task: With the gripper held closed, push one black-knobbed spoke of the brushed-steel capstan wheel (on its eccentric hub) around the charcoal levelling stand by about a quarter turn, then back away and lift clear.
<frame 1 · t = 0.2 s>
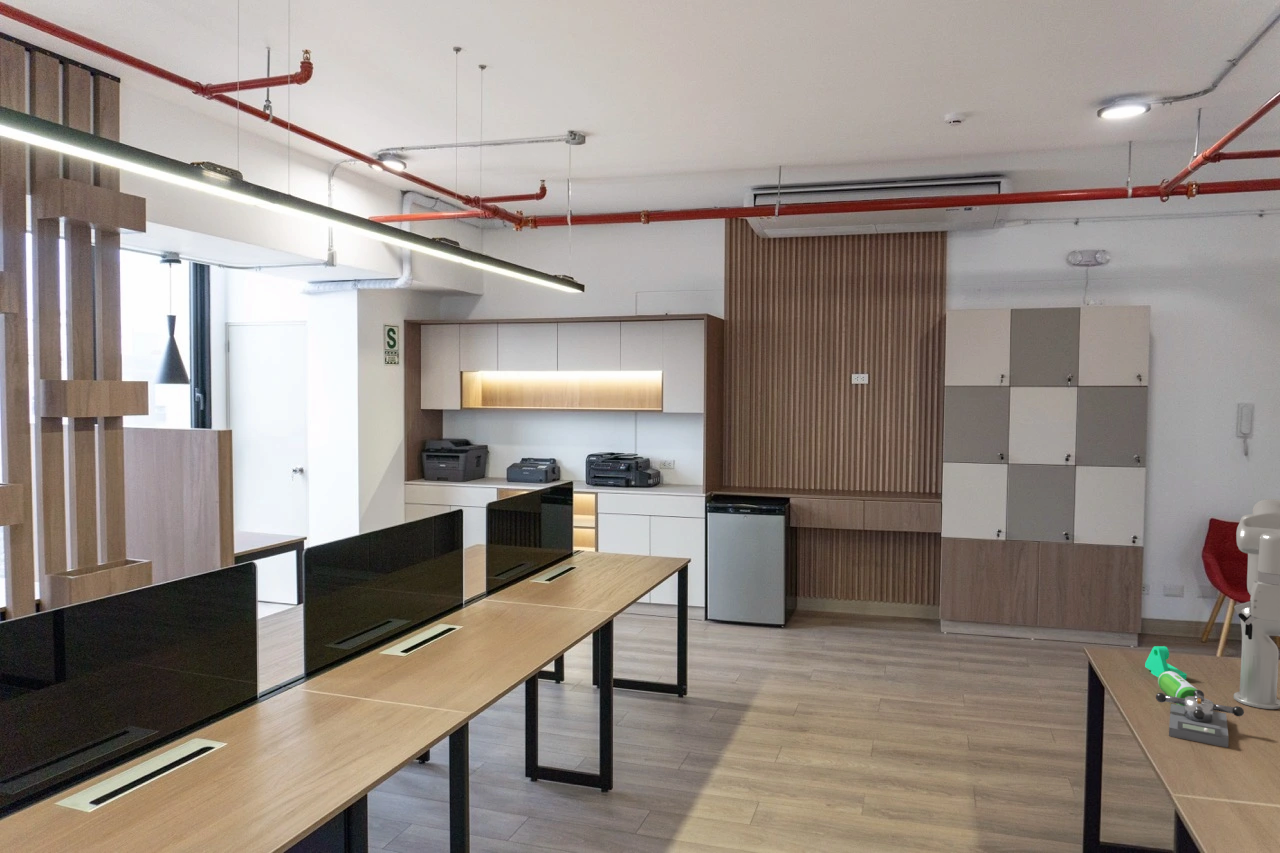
hand: (1271, 641, 234), 31 cm above the table, fingers open, 9 cm apart
capstan: (1198, 706, 254), point 6 cm above the table, hinge at 0.0°
speaker: (1178, 702, 274), on the table
stand: (1197, 728, 252), on the table
camera mount: (1165, 676, 298), on the table
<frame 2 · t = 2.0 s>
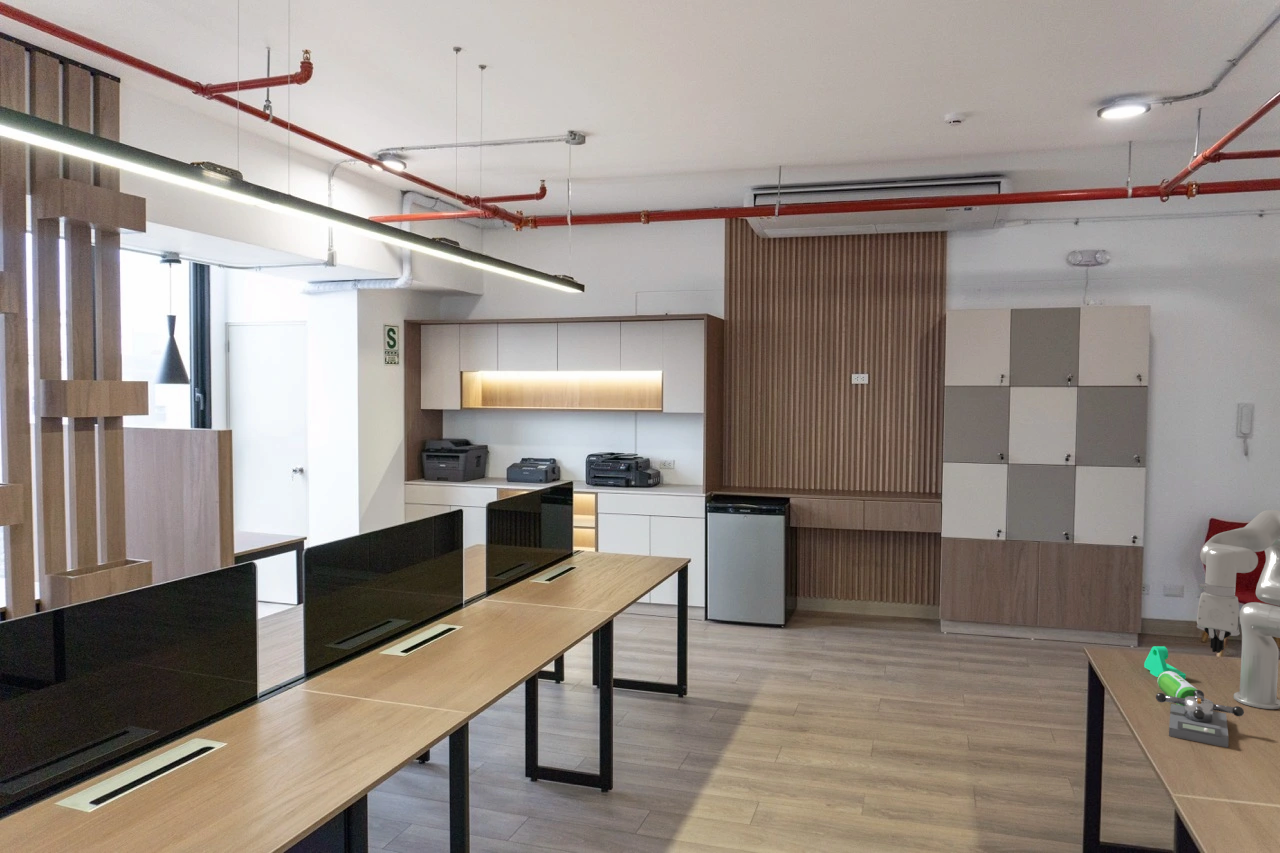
hand: (1216, 651, 257), 21 cm above the table, fingers closed
nothing on the table moved.
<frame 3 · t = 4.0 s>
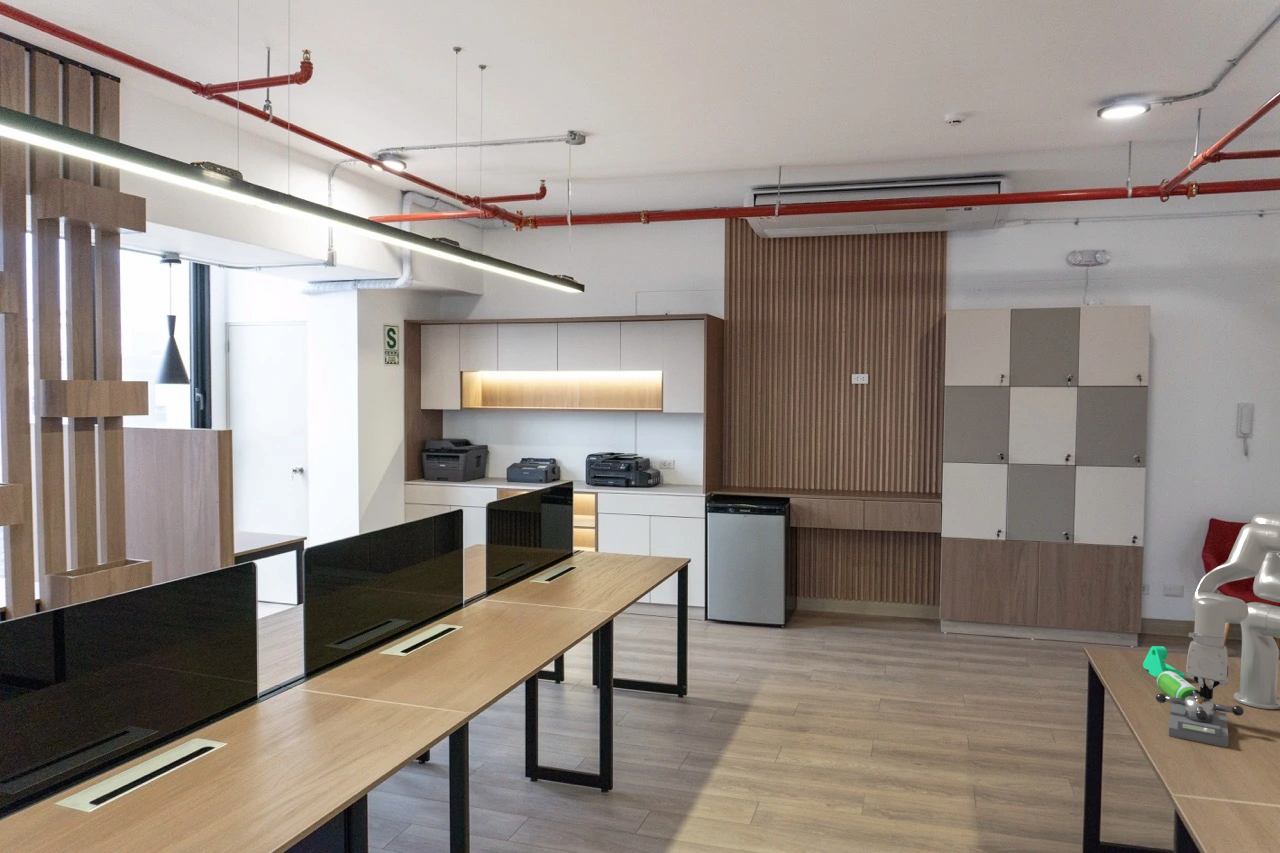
hand: (1206, 700, 259), 6 cm above the table, fingers closed
capstan: (1198, 706, 254), point 6 cm above the table, hinge at 3.8°, touching gripper
everything else where it was.
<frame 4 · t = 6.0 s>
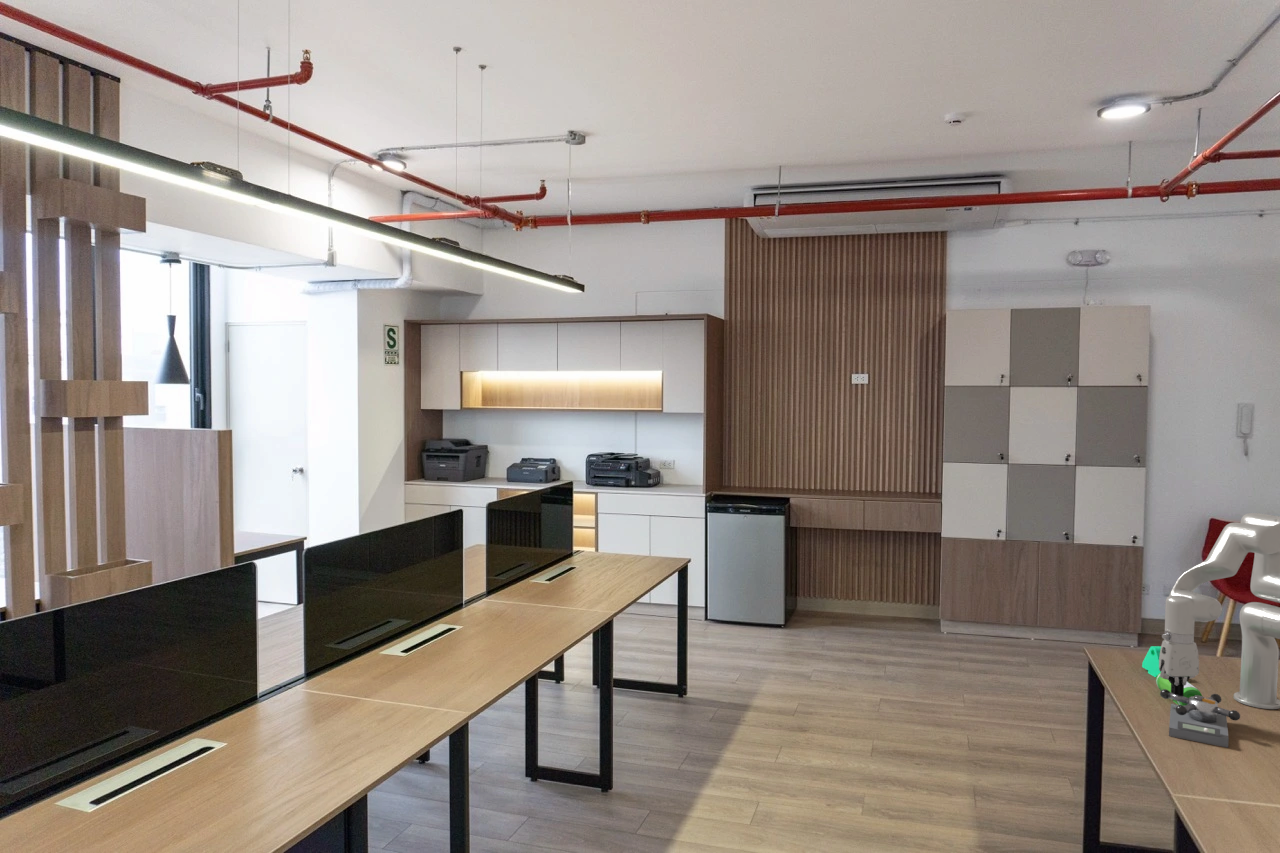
hand: (1177, 696, 261), 6 cm above the table, fingers closed
capstan: (1198, 706, 254), point 6 cm above the table, hinge at 63.0°, touching gripper
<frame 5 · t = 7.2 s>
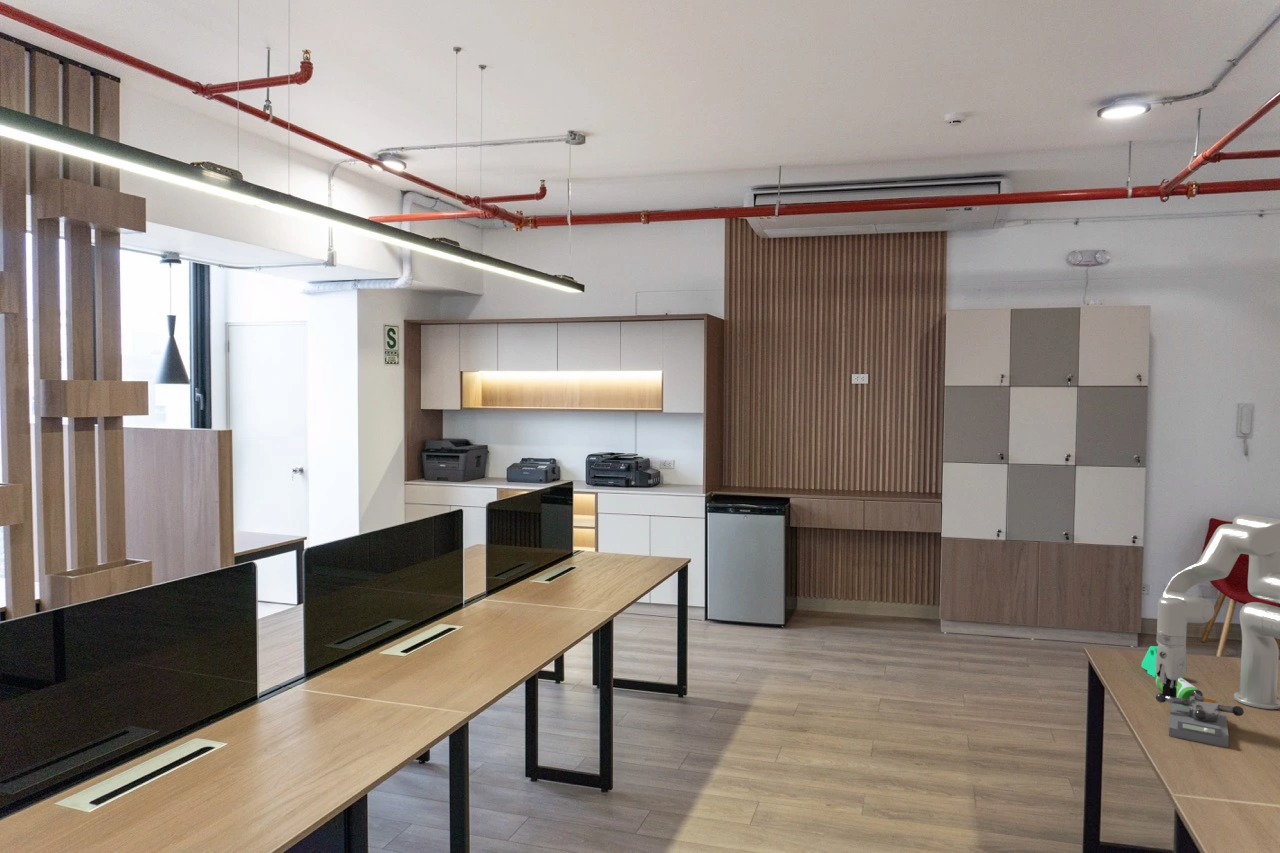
hand: (1169, 699, 260), 6 cm above the table, fingers closed
capstan: (1198, 706, 254), point 6 cm above the table, hinge at 92.1°, touching gripper
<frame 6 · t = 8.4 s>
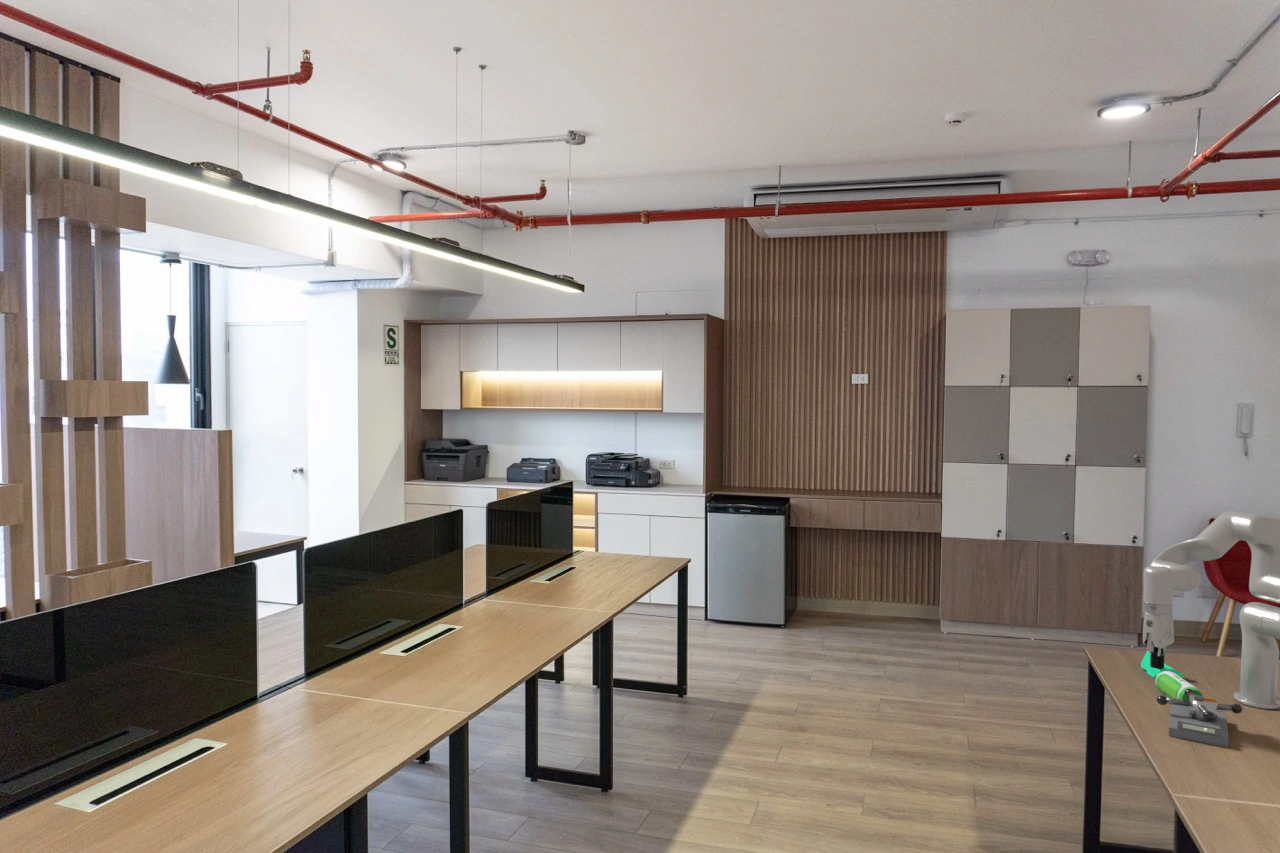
hand: (1157, 667, 260), 15 cm above the table, fingers closed
capstan: (1198, 706, 254), point 6 cm above the table, hinge at 104.2°
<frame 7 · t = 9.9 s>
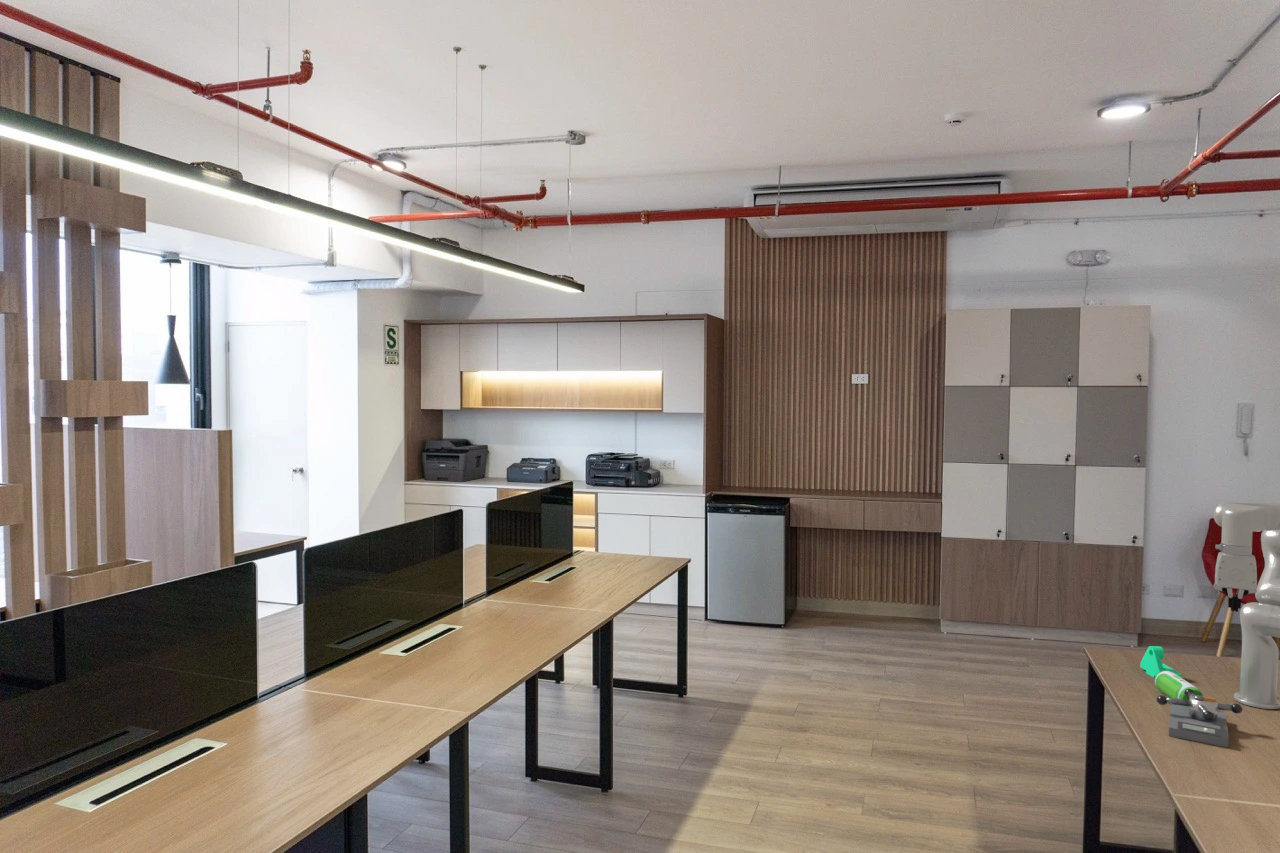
hand: (1234, 610, 258), 33 cm above the table, fingers closed
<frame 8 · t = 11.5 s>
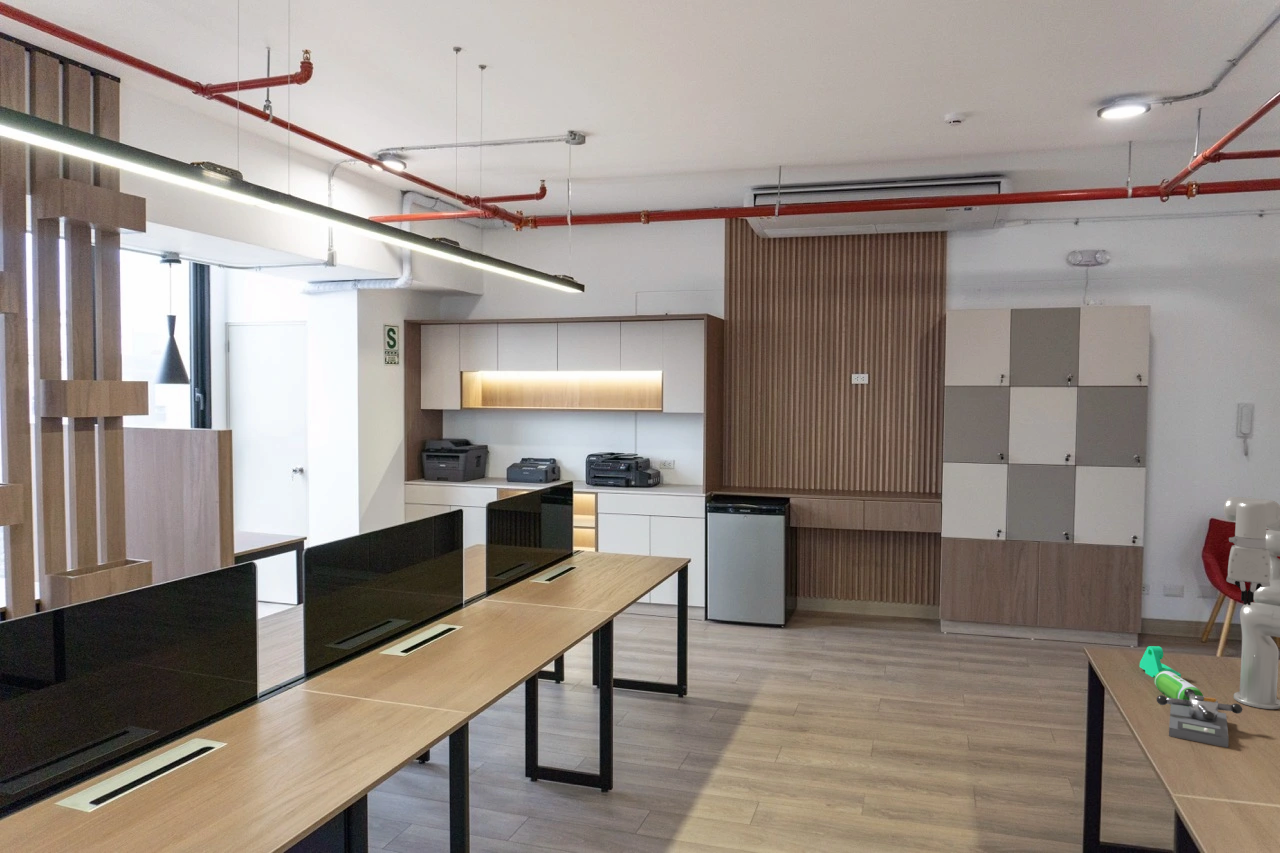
hand: (1246, 603, 257), 35 cm above the table, fingers closed
at the end: capstan at +104° (first picture: +0°); capstan touching nothing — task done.
